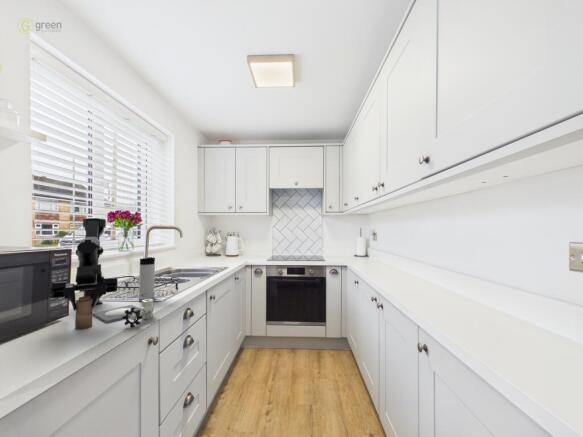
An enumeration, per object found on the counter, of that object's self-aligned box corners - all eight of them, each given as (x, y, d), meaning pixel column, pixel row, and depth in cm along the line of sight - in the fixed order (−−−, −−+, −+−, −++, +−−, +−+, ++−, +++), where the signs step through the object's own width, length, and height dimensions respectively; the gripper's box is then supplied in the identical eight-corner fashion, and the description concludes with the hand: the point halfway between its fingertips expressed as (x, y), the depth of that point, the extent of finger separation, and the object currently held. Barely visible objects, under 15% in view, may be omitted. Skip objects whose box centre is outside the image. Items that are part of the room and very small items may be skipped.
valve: (141, 315, 103) (121, 327, 91) (142, 298, 104) (122, 307, 92) (158, 316, 103) (141, 327, 91) (159, 298, 104) (141, 308, 92)
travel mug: (142, 302, 121) (143, 258, 122) (136, 300, 125) (137, 256, 126) (156, 299, 126) (157, 256, 126) (150, 297, 130) (151, 255, 131)
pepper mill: (73, 327, 91) (74, 297, 91) (89, 323, 95) (90, 294, 95) (77, 330, 88) (78, 299, 89) (94, 326, 92) (95, 297, 92)
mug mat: (92, 315, 103) (92, 312, 103) (131, 306, 115) (131, 304, 115) (106, 323, 95) (106, 320, 95) (147, 313, 106) (147, 310, 106)
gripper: (52, 258, 90) (43, 299, 81) (118, 255, 101) (117, 291, 91) (55, 278, 97) (48, 318, 87) (117, 273, 107) (116, 308, 97)
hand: (83, 308), depth 90 cm, fingers closed on pepper mill, 5 cm apart
